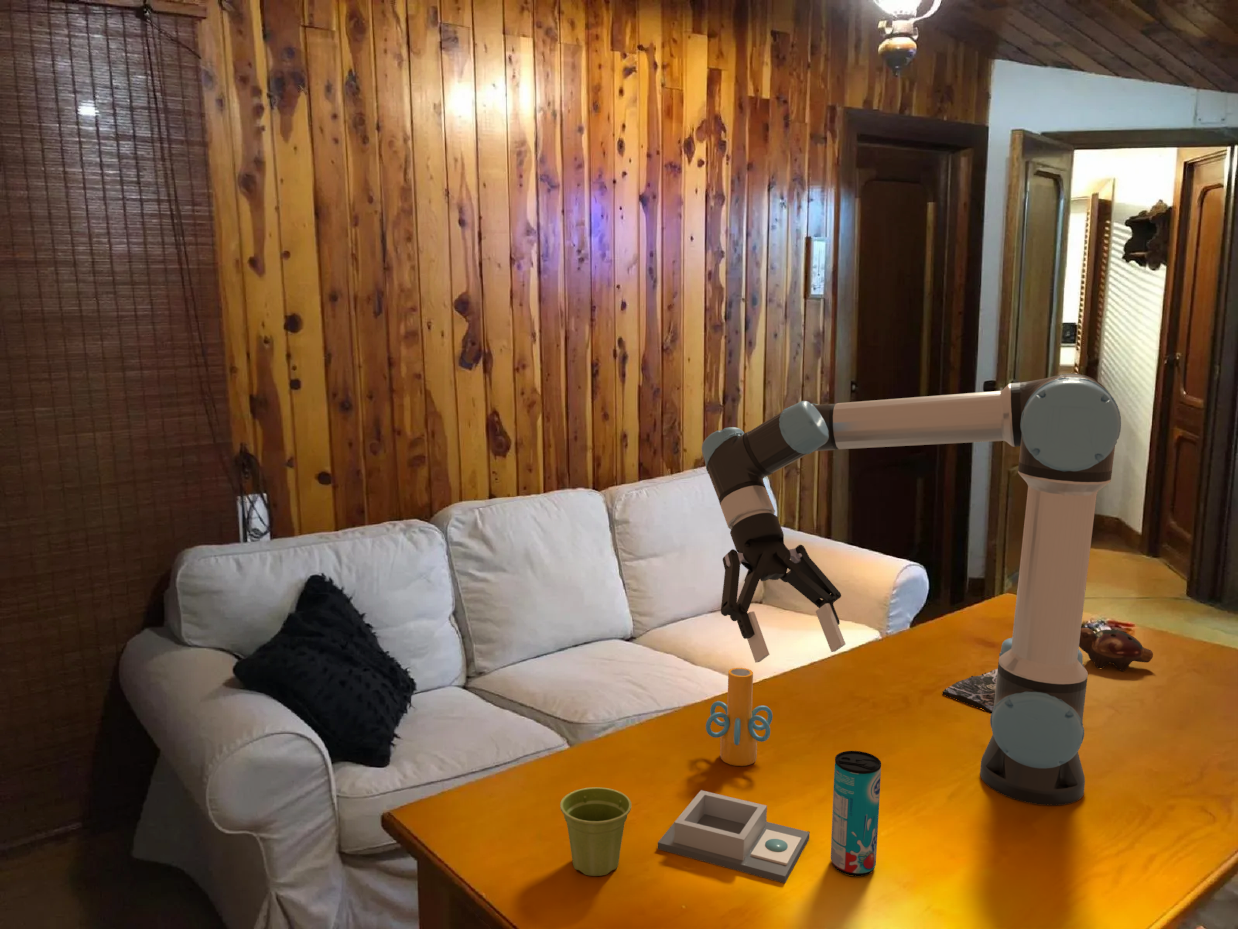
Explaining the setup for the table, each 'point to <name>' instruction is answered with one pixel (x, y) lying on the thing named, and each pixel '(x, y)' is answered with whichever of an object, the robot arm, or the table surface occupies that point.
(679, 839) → the can holder
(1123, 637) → the decorative turtle
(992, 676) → the terrain model
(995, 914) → the table surface
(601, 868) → the plant pot
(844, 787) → the beverage can
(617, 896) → the table surface
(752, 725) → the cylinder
